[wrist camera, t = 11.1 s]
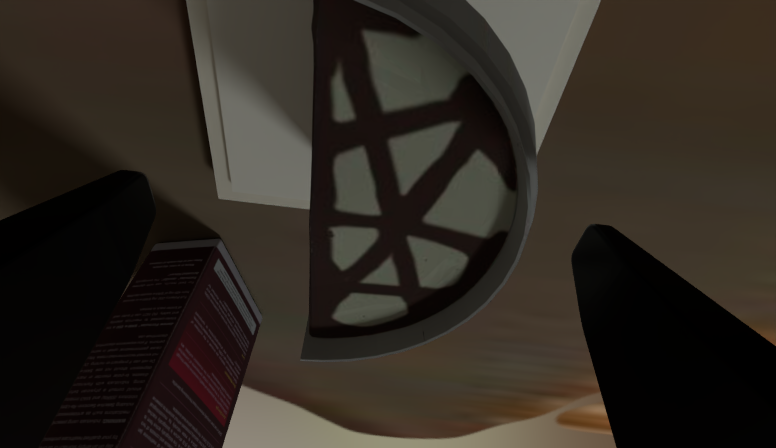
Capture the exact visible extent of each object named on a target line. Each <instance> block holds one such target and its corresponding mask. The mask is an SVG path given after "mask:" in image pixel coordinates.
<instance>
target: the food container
mask: <svg viewBox="0 0 776 448" xmlns="http://www.w3.org/2000/svg"><path fill="white" fill-rule="evenodd" d="M311 30H312V38H313V59H314V72H313V112H312V163H311V190H310V217H309V236H310V286H309V317H308V322H307V327H306V333H305V338H304V343H303V348H302V354H301V359H300V361H317V362H337V361H355V360H363V359H370V358H378V357H382V356H386V355H391V354H395V353H400V352H403V351H406V350H409V349H412V348H415V347H418V346H421V345H424V344H426V343H429V342H431V341H433V340H435V339H437V338H439V337H441V336H443V335H445V334H448V333H449V332H451V331H452V330H454V329H456V328H457V327H459V326H460V325H462V324H463V323H465V322H467V321H468V320H470V319H471V318H472V317H473V316H474V315H475V314H477V313H478V312H479V311H480V310H481V309H482V308H484V307H485V306H486V305H487V304H488V303H489V302H490V301H491V300H492V299H493V298H494V296H495V295H496V294H497V293H498V292H499V291H500V289H501V288H502V287H503V286H504V285H505V283H506V282H507V280H508V278H509V277H510V275H511V273H512V271H513V270H514V268H515V266H516V265H517V263H518V261H519V259H520V256H521V253H522V250H523V247H524V245H525V242H526V239H527V236H528V232H529V230H530V227H531V224H532V221H533V218H534V212H535V205H536V199H537V192H538V179H537V155H536V137H535V122H534V118H533V115H532V111H531V107H530V103H529V99H528V95H527V91H526V88H525V86H524V83H523V81H522V79H521V77H520V75H519V73H518V70H517V68H516V66H515V64H514V62H513V60H512V58H511V55H510V53H509V52H508V50H507V49H506V48H505V46H504V45H503V43H502V42H501V41H500V39H499V38H498V36H497V35H496V34H495V32H494V31H493V29H492V28H491V27H490V25H489V24H488V22H487V21H486V20H485V18H484V17H483V16H482V15H481V14H480V13H479V12H478V11H477V10H475V9H474V8H473V7H472V6H471V5H470V4H469V3H468V2H467V1H466V0H313V17H312V25H311Z"/></svg>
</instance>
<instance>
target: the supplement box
mask: <svg viewBox="0 0 776 448" xmlns="http://www.w3.org/2000/svg"><path fill="white" fill-rule="evenodd" d="M261 320H262V315H261V313H260V312H259V310H258V308H257V306H256V304H255V302H254V300H253V299H252V297H251V295H250V293H249V291H248V289H247V287H246V285H245V283H244V282H243V280H242V278H241V276H240V274H239V272H238V270H237V268H236V266H235V264H234V263H233V261H232V259H231V257H230V255H229V253H228V251H227V250H226V248H225V246H224V244H223V242H222V240H221V239H207V240H192V241H180V242H169V243H158V244H155V245H154V247H153V248H152V250H151V252H150V254H149V255H148V256H147V258H146V259H145V261H144V263H143V264H142V266H141V267H140V269H139V270H138V272H137V274H136V275H135V277H134V278H133V280H132V281H131V283H130V284H129V286H128V288H127V289H126V291H125V292H124V294H123V296H122V297H121V299H120V300H119V302H118V303H117V305H116V307H115V309H114V311H113V312H112V314H111V316H110V318H109V320H108V322H107V323H106V325H105V327H104V329H103V331H102V333H101V334H100V336H99V338H98V340H97V342H96V344H95V345H94V347H93V349H92V351H91V353H90V355H89V356H88V358H87V360H86V362H85V364H84V366H83V367H82V369H81V371H80V373H79V375H78V377H77V379H76V380H75V382H74V384H73V386H72V388H71V390H70V391H69V393H68V395H67V397H66V399H65V401H64V402H63V404H62V406H61V408H60V410H59V412H58V413H57V415H56V417H55V419H54V421H53V423H52V424H51V426H50V428H49V430H48V432H47V434H46V435H45V437H44V439H43V441H42V443H41V445H40V447H39V448H222V446H223V443H224V440H225V436H226V433H227V430H228V427H229V424H230V420H231V417H232V414H233V410H234V407H235V404H236V401H237V397H238V394H239V391H240V388H241V385H242V382H243V378H244V375H245V372H246V369H247V365H248V362H249V359H250V356H251V352H252V349H253V346H254V343H255V340H256V336H257V333H258V330H259V327H260V324H261Z"/></svg>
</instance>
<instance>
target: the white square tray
mask: <svg viewBox="0 0 776 448" xmlns="http://www.w3.org/2000/svg"><path fill="white" fill-rule="evenodd" d="M466 1H467V2H468V3H469V4H470V5H471V6H472V7H473V8H474V9H475V10H477V11H478V12H479V13H480V14H481V15H482V16H483V17H484V18H485V20H486V21H487V22H488V24H489V25H490V27H491V28H492V29H493V31H494V32H495V34H496V35H497V36H498V38H499V39H500V41H501V42H502V43H503V45H504V46H505V48H506V49H507V50H508V52H509V53H510V55H511V58H512V60H513V62H514V64H515V66H516V68H517V70H518V73H519V75H520V77H521V79H522V81H523V83H524V86H525V88H526V91H527V95H528V99H529V103H530V107H531V111H532V115H533V118H534V122H535V137H536V155H537V153H538V151H539V148H540V146H541V143H542V141H543V138H544V136H545V134H546V131H547V129H548V126H549V124H550V122H551V119H552V117H553V114H554V112H555V110H556V107H557V105H558V102H559V100H560V98H561V95H562V93H563V90H564V88H565V86H566V83H567V81H568V78H569V76H570V74H571V71H572V69H573V66H574V64H575V62H576V59H577V57H578V54H579V52H580V49H581V47H582V45H583V42H584V40H585V37H586V35H587V33H588V30H589V28H590V25H591V23H592V21H593V18H594V16H595V13H596V11H597V9H598V6H599V4H600V1H601V0H466ZM186 3H187V9H188V15H189V21H190V28H191V34H192V40H193V46H194V52H195V58H196V64H197V70H198V76H199V82H200V88H201V95H202V101H203V107H204V113H205V119H206V125H207V131H208V137H209V143H210V149H211V155H212V162H213V168H214V174H215V180H216V186H217V192H218V198H219V199H225V200H234V201H242V202H251V203H260V204H268V205H277V206H286V207H294V208H303V209H310V190H311V163H312V112H313V72H314V59H313V38H312V30H311V25H312V17H313V0H186Z"/></svg>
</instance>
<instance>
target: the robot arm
mask: <svg viewBox="0 0 776 448" xmlns="http://www.w3.org/2000/svg"><path fill="white" fill-rule="evenodd" d="M155 215H156V205H155V201H154V198H153V194H152V191H151V188H150V184H149V181H148V178H147V176H146V175H145V174H144V173H142V172H137V171H128V170H120V171H117V172H115V173H112V174H110V175H108V176H105V177H103V178H100V179H98V180H96V181H93V182H91V183H88V184H86V185H84V186H81V187H79V188H77V189H74V190H72V191H69V192H67V193H65V194H62V195H60V196H57V197H55V198H53V199H50V200H48V201H45V202H43V203H41V204H38V205H36V206H34V207H31V208H29V209H26V210H24V211H22V212H19V213H17V214H14V215H12V216H10V217H7V218H5V219H2V220H0V448H39V447H40V445H41V443H42V441H43V439H44V437H45V435H46V434H47V432H48V430H49V428H50V426H51V424H52V423H53V421H54V419H55V417H56V415H57V413H58V412H59V410H60V408H61V406H62V404H63V402H64V401H65V399H66V397H67V395H68V393H69V391H70V390H71V388H72V386H73V384H74V382H75V380H76V379H77V377H78V375H79V373H80V371H81V369H82V367H83V366H84V364H85V362H86V360H87V358H88V356H89V355H90V353H91V351H92V349H93V347H94V345H95V344H96V342H97V340H98V338H99V336H100V334H101V333H102V331H103V329H104V327H105V325H106V323H107V322H108V320H109V318H110V316H111V314H112V312H113V311H114V309H115V307H116V305H117V303H118V301H119V299H120V298H121V296H122V294H123V292H124V290H125V288H126V286H127V284H128V282H129V280H130V278H131V276H132V274H133V271H134V269H135V266H136V264H137V261H138V259H139V256H140V254H141V251H142V249H143V246H144V244H145V241H146V239H147V236H148V234H149V231H150V228H151V226H152V223H153V221H154V218H155ZM571 261H572V269H573V275H574V281H575V287H576V293H577V299H578V306H579V312H580V317H581V322H582V327H583V331H584V335H585V338H586V342H587V345H588V349H589V352H590V356H591V359H592V363H593V366H594V370H595V373H596V377H597V380H598V384H599V388H600V391H601V395H602V398H603V402H604V405H605V409H606V412H607V416H608V419H609V423H610V426H611V430H612V433H613V437H614V440H615V443H616V447H617V448H776V346H775V345H773V344H772V343H771V342H769V341H768V340H766V339H765V338H764V337H762V336H761V335H760V334H758V333H757V332H756V331H754V330H753V329H751V328H750V327H749V326H747V325H746V324H745V323H743V322H742V321H741V320H739V319H738V318H736V317H735V316H734V315H732V314H731V313H730V312H728V311H727V310H725V309H724V308H723V307H721V306H720V305H719V304H717V303H716V302H715V301H713V300H712V299H710V298H709V297H708V296H706V295H705V294H704V293H702V292H701V291H700V290H698V289H697V288H695V287H694V286H693V285H691V284H690V283H689V282H687V281H686V280H684V279H683V278H682V277H680V276H679V275H678V274H676V273H675V272H674V271H672V270H671V269H669V268H668V267H667V266H665V265H664V264H663V263H661V262H660V261H659V260H657V259H656V258H654V257H653V256H652V255H650V254H649V253H648V252H646V251H645V250H644V249H642V248H641V247H639V246H638V245H637V244H635V243H634V242H633V241H631V240H630V239H628V238H627V237H626V236H624V235H623V234H622V233H620V232H619V231H618V230H616V229H615V228H613V227H612V226H609V225H600V224H591V225H589V226H588V227H587V228H586V230H585V231H584V233H583V235H582V237H581V238H580V240H579V242H578V244H577V245H576V247H575V249H574V251H573V253H572V260H571Z"/></svg>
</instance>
